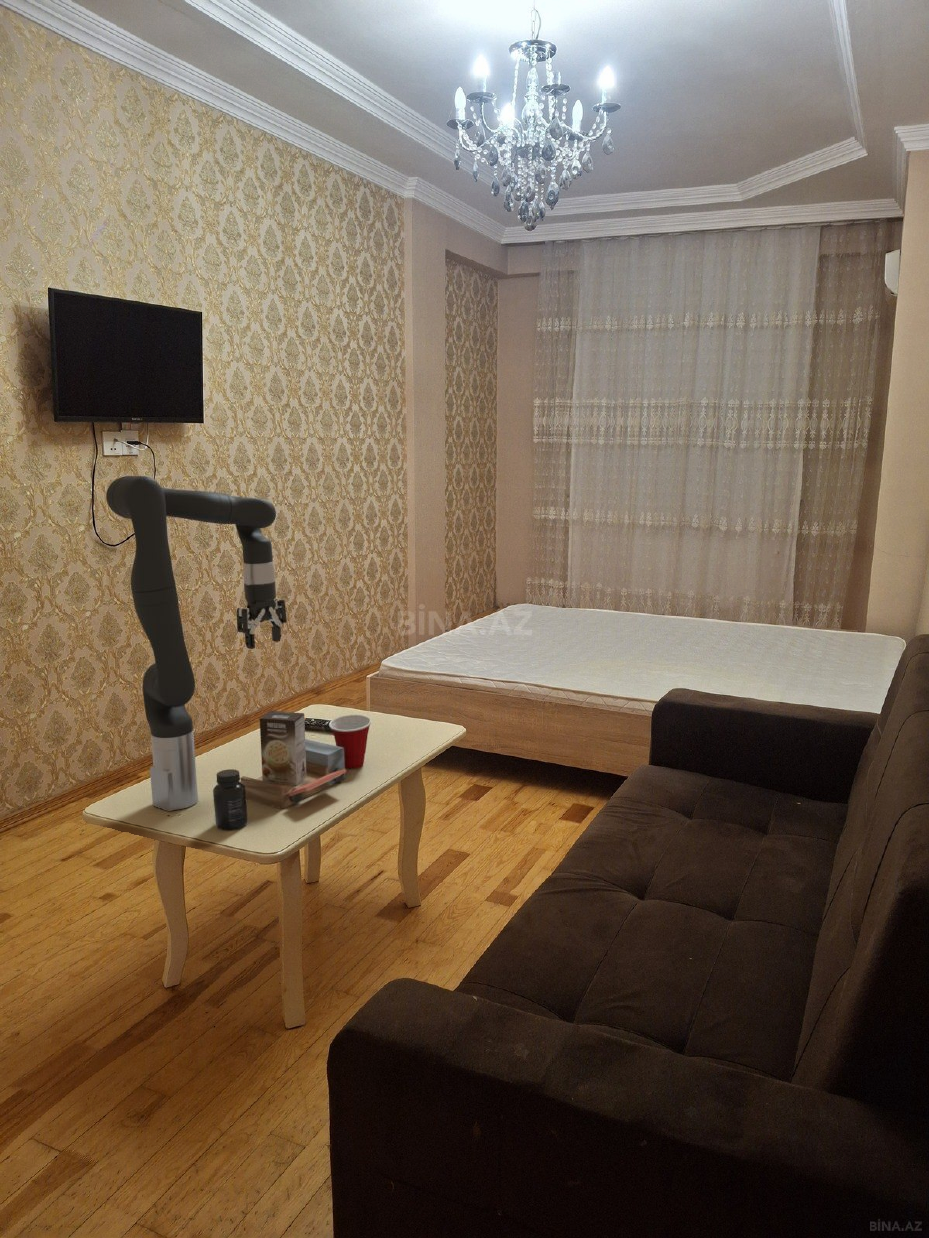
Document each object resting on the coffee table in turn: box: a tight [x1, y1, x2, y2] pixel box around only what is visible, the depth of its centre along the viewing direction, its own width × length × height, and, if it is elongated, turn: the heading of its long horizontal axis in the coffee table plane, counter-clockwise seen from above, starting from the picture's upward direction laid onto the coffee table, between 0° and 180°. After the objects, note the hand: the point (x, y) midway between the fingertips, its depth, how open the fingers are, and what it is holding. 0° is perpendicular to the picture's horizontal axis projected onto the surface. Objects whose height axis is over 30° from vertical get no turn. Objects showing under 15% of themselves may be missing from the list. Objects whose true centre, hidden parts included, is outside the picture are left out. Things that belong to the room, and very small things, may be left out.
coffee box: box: [259, 710, 306, 786], centre depth 212 cm, size 9×6×16 cm
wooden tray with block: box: [240, 738, 346, 810], centre depth 215 cm, size 22×14×8 cm, turn 147°
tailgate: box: [289, 768, 347, 796], centre depth 207 cm, size 14×1×6 cm
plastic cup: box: [328, 714, 372, 770], centre depth 230 cm, size 11×11×12 cm
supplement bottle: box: [212, 768, 248, 832], centre depth 195 cm, size 7×7×12 cm
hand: (263, 644), depth 222 cm, fingers open, 8 cm apart
